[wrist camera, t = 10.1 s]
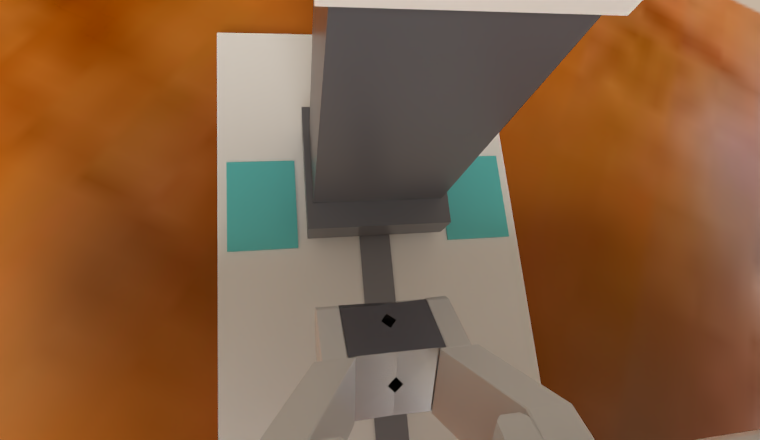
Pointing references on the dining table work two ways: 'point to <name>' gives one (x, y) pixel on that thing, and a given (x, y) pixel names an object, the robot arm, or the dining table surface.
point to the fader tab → (420, 100)
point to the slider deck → (335, 250)
